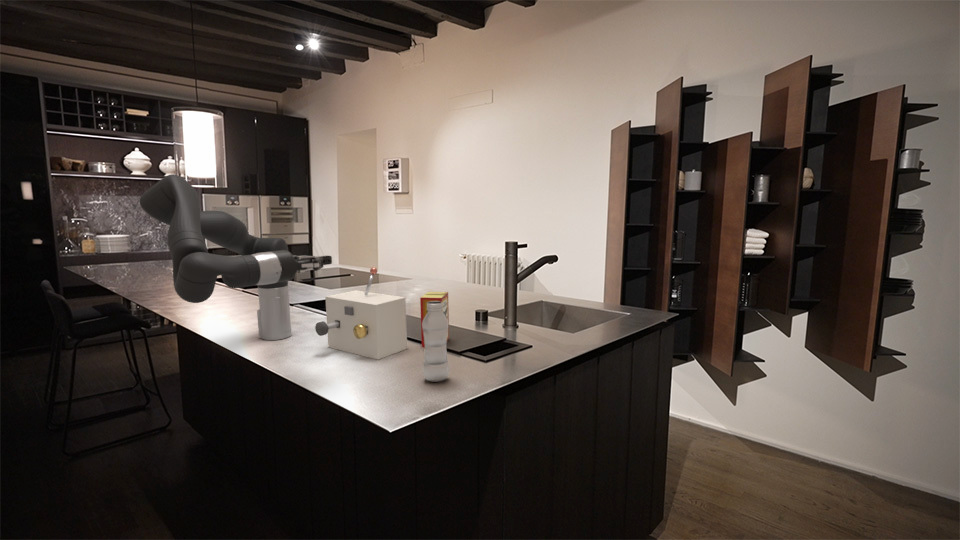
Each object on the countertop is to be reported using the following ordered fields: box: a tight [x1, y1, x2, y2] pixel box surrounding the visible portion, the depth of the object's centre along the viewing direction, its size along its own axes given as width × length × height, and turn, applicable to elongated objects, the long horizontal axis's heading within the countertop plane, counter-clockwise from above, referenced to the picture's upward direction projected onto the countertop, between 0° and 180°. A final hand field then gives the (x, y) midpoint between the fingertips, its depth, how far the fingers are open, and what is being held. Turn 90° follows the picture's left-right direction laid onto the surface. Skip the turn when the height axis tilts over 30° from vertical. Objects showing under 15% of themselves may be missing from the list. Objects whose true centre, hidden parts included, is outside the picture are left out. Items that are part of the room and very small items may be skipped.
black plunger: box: [314, 320, 340, 337], centre depth 144 cm, size 4×7×4 cm, turn 146°
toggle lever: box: [364, 267, 378, 296], centre depth 148 cm, size 2×2×9 cm
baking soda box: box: [419, 291, 450, 348], centre depth 152 cm, size 10×6×16 cm
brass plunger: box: [353, 324, 368, 339], centre depth 140 cm, size 4×7×4 cm, turn 146°
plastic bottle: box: [422, 301, 450, 383], centre depth 120 cm, size 6×7×20 cm
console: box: [324, 289, 408, 361], centre depth 147 cm, size 22×13×16 cm, turn 56°
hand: (330, 259), depth 127 cm, fingers closed
